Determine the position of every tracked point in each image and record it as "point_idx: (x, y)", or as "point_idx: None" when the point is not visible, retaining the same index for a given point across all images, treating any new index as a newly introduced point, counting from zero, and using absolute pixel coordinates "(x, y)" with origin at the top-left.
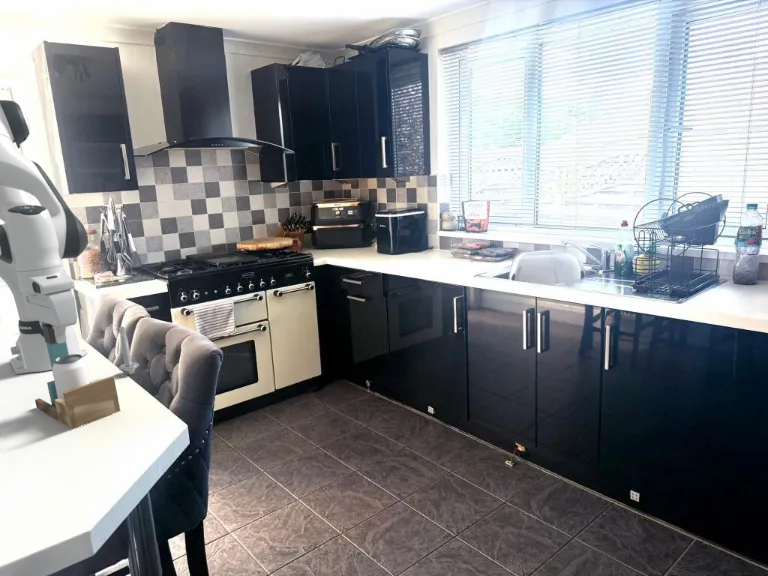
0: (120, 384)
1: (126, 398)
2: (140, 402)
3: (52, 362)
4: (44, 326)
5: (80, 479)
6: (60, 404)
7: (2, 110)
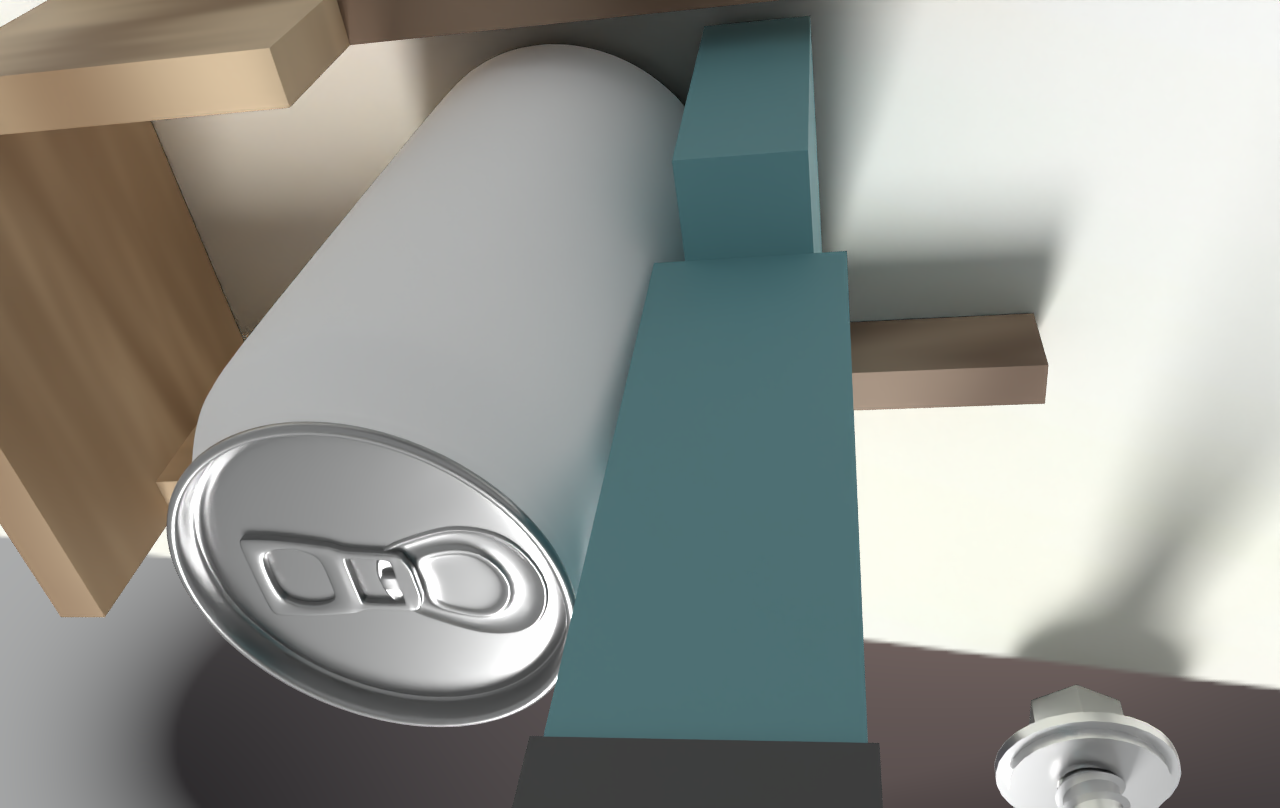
0: (872, 588)
1: None
2: None
3: (751, 431)
4: None
5: None
6: (110, 58)
7: None
